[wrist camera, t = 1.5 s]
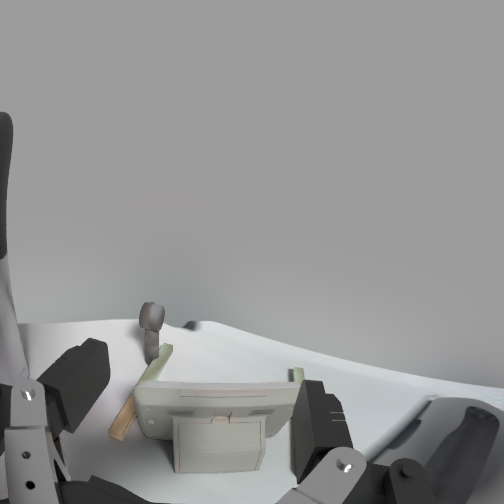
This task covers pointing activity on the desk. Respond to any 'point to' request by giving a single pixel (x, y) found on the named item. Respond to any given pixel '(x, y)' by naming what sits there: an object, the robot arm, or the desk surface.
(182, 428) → the digital clock
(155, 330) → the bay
